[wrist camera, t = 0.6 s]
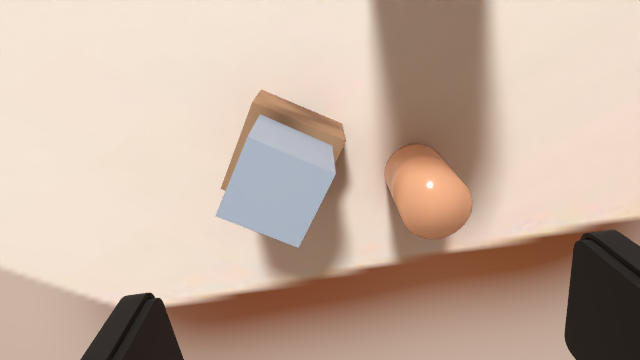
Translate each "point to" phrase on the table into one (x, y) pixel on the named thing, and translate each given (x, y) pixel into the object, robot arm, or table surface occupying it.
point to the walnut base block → (292, 118)
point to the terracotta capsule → (427, 192)
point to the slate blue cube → (278, 181)
